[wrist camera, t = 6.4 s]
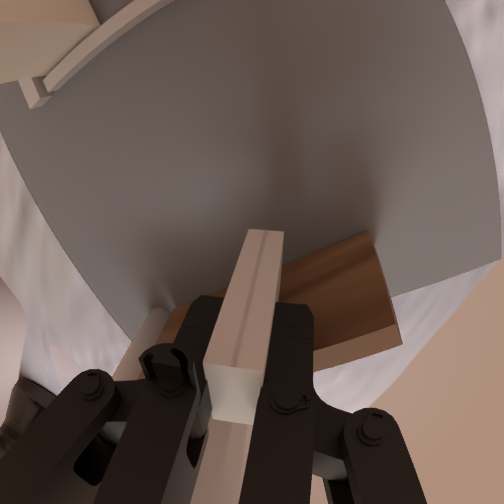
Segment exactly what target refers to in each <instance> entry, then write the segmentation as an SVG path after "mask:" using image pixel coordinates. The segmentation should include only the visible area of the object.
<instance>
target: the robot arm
mask: <svg viewBox="0 0 504 504" xmlns="http://www.w3.org/2000/svg"><path fill="white" fill-rule="evenodd" d="M283 240H284V232H283V231H270V230H258V229H249V230H248V233H247V235H246V238H245V241H244V244H243V247H242V250H241V252H240V255H239V258H238V261H237V264H236V267H235V270H234V273H233V275H232V278H231V281H230V284H229V287H228V290H227V293H226V296H225V298H224V297H215V296H207V295H201V296H200V297H198V298H197V299H196V300H195V301H194V302H193V303H191V305H190V307H189V309H188V311H187V313H186V315H185V318H184V320H183V322H182V324H181V328H180V329H179V331H178V333H177V335H176V337H175V340H174V342H173V343H161V344H157V345H154V346H152V347H150V348H148V349H147V350H145V351H144V352H143V353H142V354H141V356H140V357H139V358H138V359H139V362H140V365H141V367H142V370H143V372H144V375H145V377H146V378H144V379H139V380H126V381H114V380H113V378H112V377H111V376H110V375H109V374H108V373H107V372H105V371H102V370H99V369H90V370H87V371H84V372H81V373H80V374H79V375H77V376H76V377H75V378H74V379H73V380H72V381H71V382H70V383H69V384H68V385H67V386H66V387H65V388H64V389H63V390H62V391H61V393H60V394H59V395H58V396H57V397H55V396H54V395H52V394H51V393H49V392H48V391H46V390H45V389H43V388H42V387H40V386H38V385H37V384H35V383H33V382H31V381H29V380H26V379H19V380H18V381H17V383H16V384H15V386H14V387H13V389H12V393H11V396H10V400H9V405H8V409H7V414H6V418H5V421H4V422H3V424H2V426H1V427H0V504H190V502H191V499H192V495H193V491H194V488H195V484H196V481H197V477H198V473H199V470H200V466H201V463H202V459H203V455H204V452H205V448H206V444H207V441H208V437H209V428H208V423H209V419H210V416H211V412H212V417H213V419H216V420H222V421H229V422H234V423H241V424H249V425H253V428H252V434H251V440H250V445H249V451H248V456H247V461H246V467H245V472H244V477H243V482H242V488H241V493H240V498H239V503H238V504H310V493H311V480H312V474H314V475H316V476H320V477H322V478H323V482H324V487H325V491H326V496H327V500H328V504H427V502H426V499H425V496H424V493H423V491H422V487H421V485H420V482H419V479H418V476H417V473H416V471H415V468H414V465H413V463H412V460H411V457H410V455H409V452H408V449H407V447H406V444H405V441H404V439H403V436H402V434H401V431H400V429H399V426H398V424H397V423H396V421H395V420H394V418H393V417H392V416H391V415H390V414H388V413H387V412H385V411H383V410H380V409H377V408H363V409H361V410H358V411H356V412H354V413H353V414H352V413H349V412H346V411H343V410H340V409H337V408H334V407H332V406H330V405H327V404H326V403H325V402H324V401H322V400H321V399H320V398H319V396H318V395H317V394H316V392H315V389H314V386H313V354H314V342H313V341H314V316H313V314H312V312H311V310H310V309H309V307H308V305H306V304H294V303H283V302H278V301H279V294H280V284H281V270H282V256H283Z"/></svg>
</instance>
